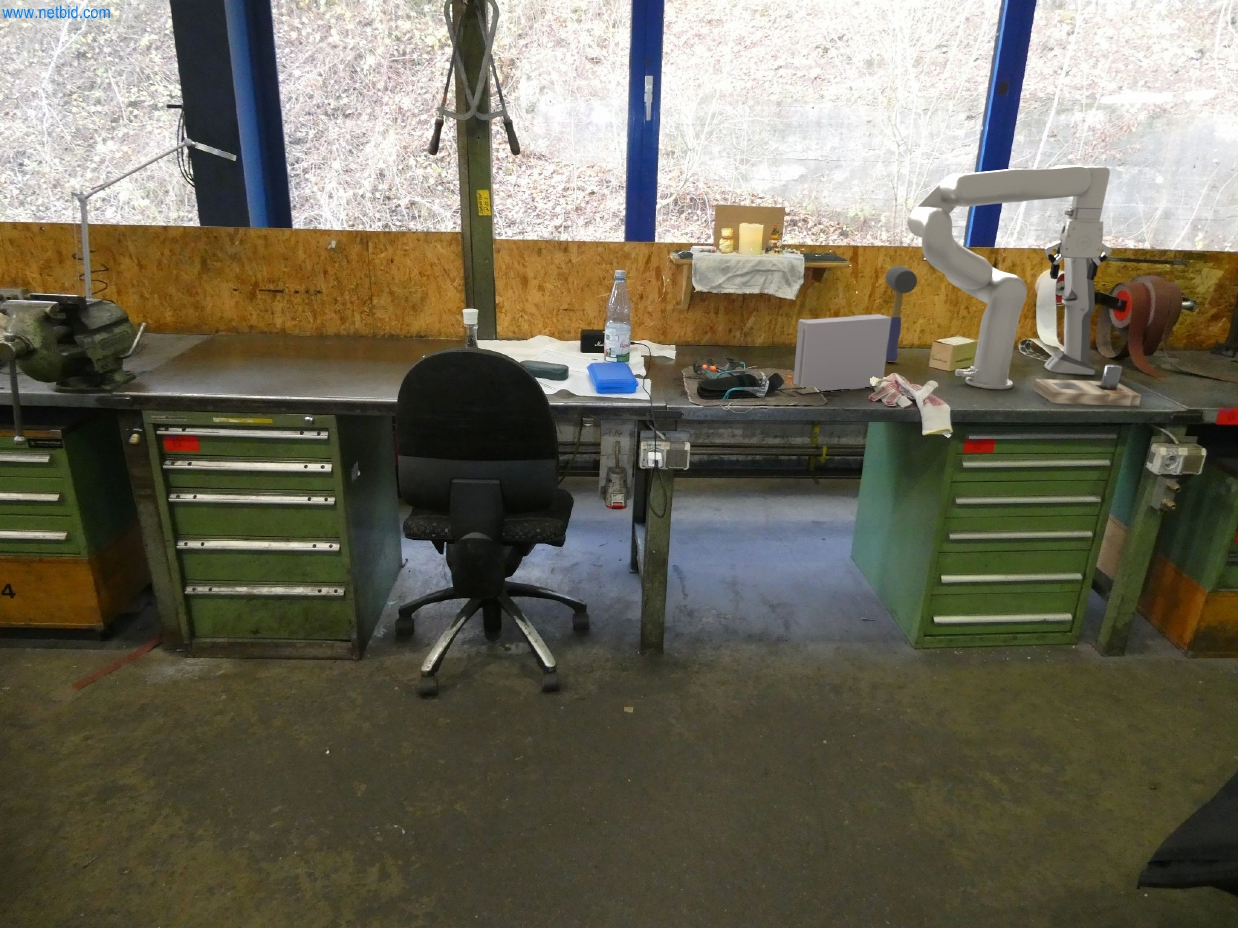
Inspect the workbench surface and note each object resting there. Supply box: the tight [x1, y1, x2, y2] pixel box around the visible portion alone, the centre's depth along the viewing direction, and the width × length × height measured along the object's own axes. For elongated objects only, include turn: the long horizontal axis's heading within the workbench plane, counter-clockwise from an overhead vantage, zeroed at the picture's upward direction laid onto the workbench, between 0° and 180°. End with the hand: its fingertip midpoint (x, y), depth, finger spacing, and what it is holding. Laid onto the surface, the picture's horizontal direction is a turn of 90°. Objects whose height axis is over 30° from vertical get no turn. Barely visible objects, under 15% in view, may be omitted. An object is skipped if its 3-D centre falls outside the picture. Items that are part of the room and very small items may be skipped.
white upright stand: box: [1043, 258, 1096, 376], centre depth 245 cm, size 12×13×35 cm
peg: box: [1100, 364, 1123, 390], centre depth 220 cm, size 4×4×9 cm
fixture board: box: [1032, 378, 1142, 407], centre depth 222 cm, size 22×14×3 cm, turn 84°
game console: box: [792, 313, 892, 391], centre depth 226 cm, size 6×27×20 cm, turn 111°
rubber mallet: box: [885, 265, 918, 362], centre depth 254 cm, size 12×8×30 cm, turn 176°
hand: (1071, 279), depth 224 cm, fingers open, 9 cm apart
